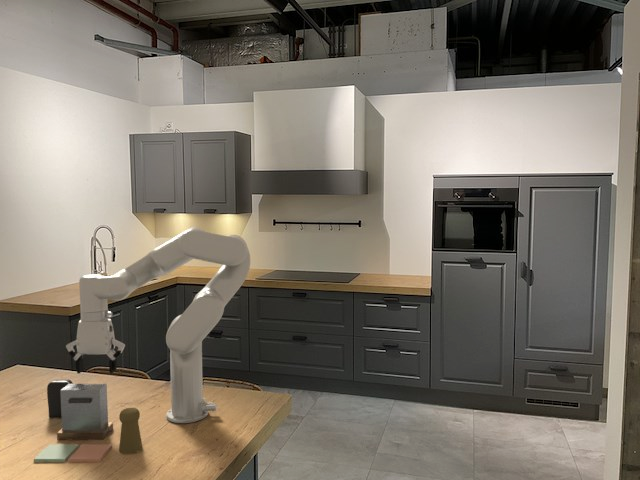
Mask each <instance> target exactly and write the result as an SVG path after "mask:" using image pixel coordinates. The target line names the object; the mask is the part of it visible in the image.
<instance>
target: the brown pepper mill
mask: <svg viewBox="0 0 640 480" xmlns="http://www.w3.org/2000/svg"><path fill="white" fill-rule="evenodd" d="M140 414H141V413H140V410H139V409H138V408H135V407H128V408H124V409H122V410H121V411H120V413H119V418H118V419H119V421H120V423H121V426H120V435H119V437H120V438H119V447H118V451H119V453H120V454H121V455H132V454H133V455H134V454H136V453H139V452H140V451H142V449H143V441H142V437H141V432H140V426H139V419H140Z"/></svg>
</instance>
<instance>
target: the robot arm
mask: <svg viewBox="0 0 640 480" xmlns="http://www.w3.org/2000/svg"><path fill="white" fill-rule="evenodd" d="M192 260H198V261H202V262H208V263H212V264H219V265H221V266H220V267H219V269H218V270H217V272H215V274H214V275H213V277H212V278H211V279H210V281H208V282H207V284H206V285H205V286H204V287H203V288H202V289H201V290H200V291H199V292H198V293H196V295H195V296H194V297H193V300H192V302H191V303H190V304H189V305H188V307H187V308H186V309H185V310H184V311H183V313H182V314H179V315H178V316H176V317H175V318H174V319H173V320H172V321H171V323H170V325H169V327H168V330H167V332H166V335H165V342H166V345H167V348H168V349H169V351H170V352H169V359H170V361H169V362H170V363H169V364H170V366H169V367H170V369H169V370H170V403H171V404H170V405H171V408H170V409H168V410H167V412H166V415H165V417H166V419H167V420H168V421H169V422H171V423H175V424H189V423H190V424H191V423H194V422H199V421H201V420H203V419H205V418H207V416H208V415H209V411H210V412H217V410H218V406H217V404H215V402H212V401H211V402H208V401H206V397H203V386H204V385H203V340H204V339H206V337H207V336H208V334H210V333H211V331H212V330H213V329H214V328H215V326H217V324H218V323H219V322H220V320H221V319H222V316H224V315H223V314H224V311H225V307H226V305H228V303H229V302H230V301H231V299H233V297H234V296H235V294H236V293H237V292H238V291H239V290H240V289H241V286H243V284H244V282H245V281H246V279H247V278H248V275H249V272H250V268H251V254H250V250H249V247H248V244H247V242H246V240H245V239H244V238H243V237H241V236H240V235H237V234H229V235H223V234H217V233H212V232H208V231H205V230H204V229H202V228H201V227H198V226H196V227H195V226H194V227H190V228H188V229H186V230H185V231H182V232H181V233H180V234H177V235H176V236H174V237H172V238H171V239H169V240H167V241H165V242H164V243H162V244H161V245H159V246H157V247H155V248H154V249H152V250H151V251H150V252H148V253H147V254H145V256H143V257H142V258H140V259H138V260H137V261H135V262H133V263H132V264H129V265H128V266H126V267H125V268H123V269H121V270H119V271H118V272H116V273H115V274H112V275H110V276H105V275H104V274H99V273H96V274H95V273H92V274H91V273H90V274H85V275H83V276H81V277H80V278H79V286H78V287H79V307H80V320H79V321H78V324H77V331H76V339H75V340H74V341H71V342H69V343H67V344H66V345H65V348H66V349H67V351H68V354H69V355H70V356H71V357H72V358H73V361H75V370H76V373H77V374H81V373H82V372H83V371H84V370H85V367H84V366H85V364H84V363H85V360H84V358H83V356H84V355H107V357H108V359H109V358H110V360H108V366H109V367H108V368H109V370H108V371H109V374H113V373H114V372H116V370H117V369H118V368H117V367H118V364H117V363H118V361H117V360H118V358H119V356H121V354H122V353H123V351H124V349H125V347H126V344H125V343H123V342H122V341H119V340H117V339H116V337H115V331H114V325H113V323H112V322H113V321H112V319H111V318H110V317H113V311H109V308H108V307H109V306H108V305H109V304H108V300H109V301H122V300H124V299H126V298H128V297H129V296H130V295H131V294H132V293H133V292H134V291H136V290H138V289H139V288H141V287H143V286H144V285H146V284H147V283H149V282H151V281H153V280H155V279H157V278H159V277H163V276H166V275H168V274H170V273H172V272H174V271H176V270H178V268H180V267H182V266H185V264H188V262H191V261H192ZM74 346H76V349H74ZM116 347H117V351H115V349H116Z"/></svg>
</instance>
